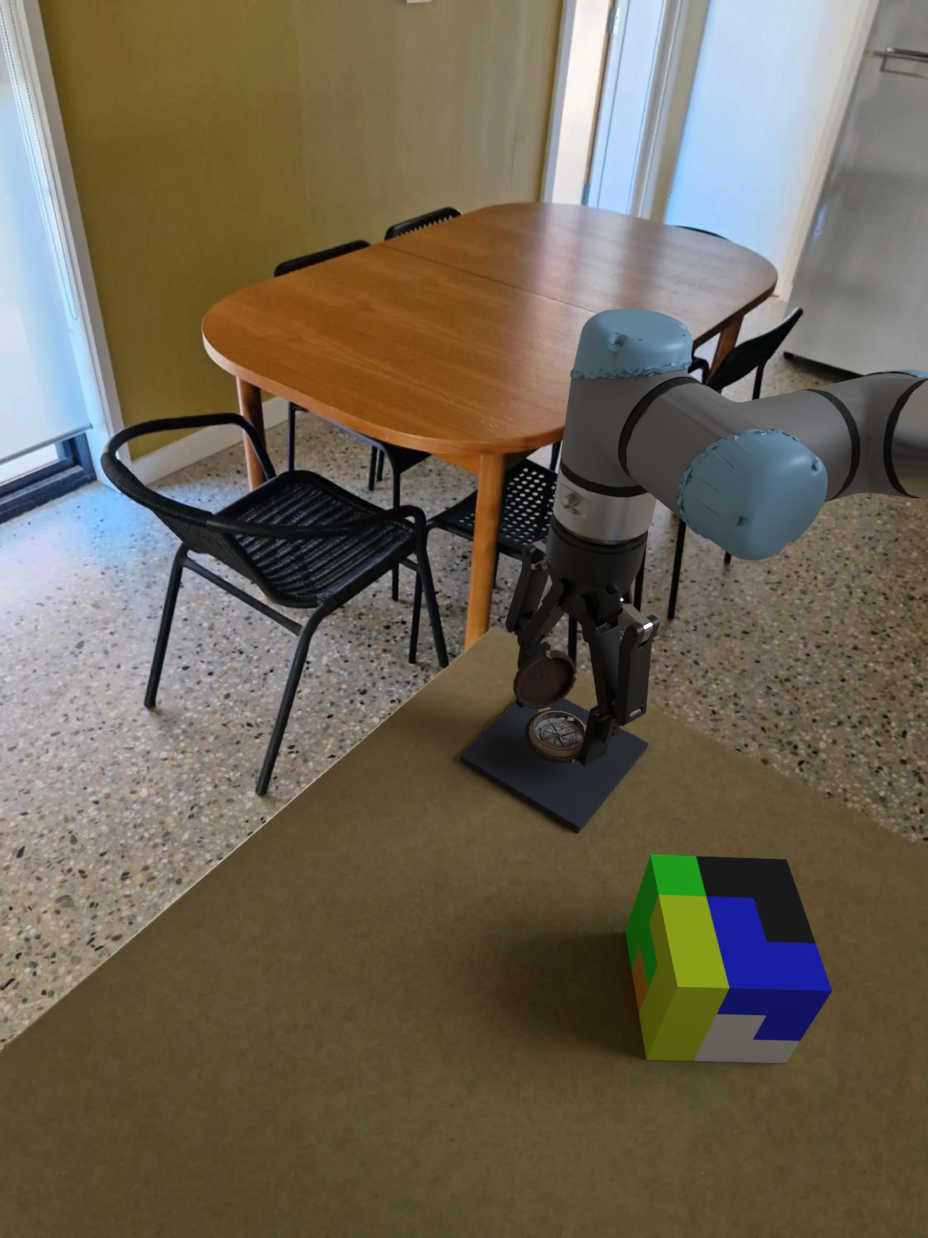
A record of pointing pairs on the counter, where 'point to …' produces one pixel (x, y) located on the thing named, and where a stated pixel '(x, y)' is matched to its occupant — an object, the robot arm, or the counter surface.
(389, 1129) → the counter surface
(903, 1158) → the counter surface
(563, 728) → the compass
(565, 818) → the mat
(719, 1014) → the puzzle toy
